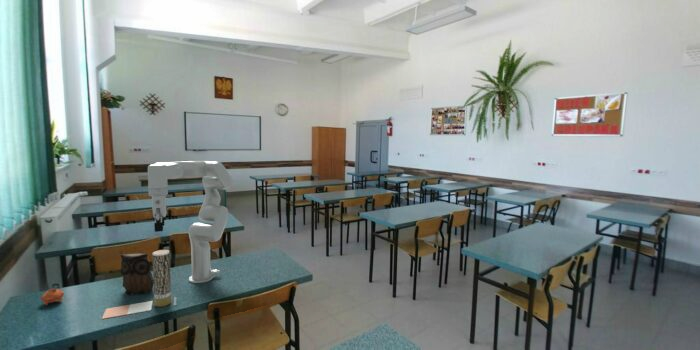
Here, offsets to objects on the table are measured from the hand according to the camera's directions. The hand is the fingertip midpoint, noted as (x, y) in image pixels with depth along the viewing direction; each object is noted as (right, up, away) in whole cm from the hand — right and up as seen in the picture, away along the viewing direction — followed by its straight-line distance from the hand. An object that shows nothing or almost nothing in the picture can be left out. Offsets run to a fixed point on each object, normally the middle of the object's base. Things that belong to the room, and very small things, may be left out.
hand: (159, 228), depth 150 cm
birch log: (-1, -36, +4) cm, 37 cm away
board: (-8, -36, 0) cm, 37 cm away
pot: (-51, -35, +3) cm, 62 cm away
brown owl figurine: (-19, -34, +17) cm, 43 cm away
